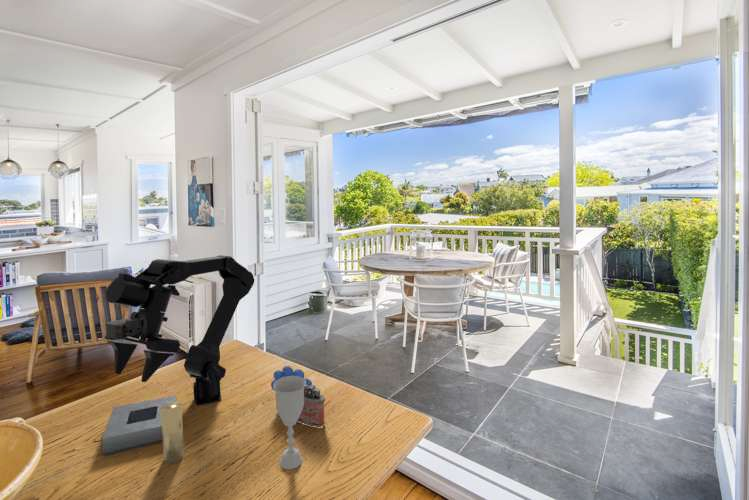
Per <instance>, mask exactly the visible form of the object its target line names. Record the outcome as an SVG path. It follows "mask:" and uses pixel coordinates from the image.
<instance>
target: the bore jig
mask: <svg viewBox="0 0 749 500" xmlns="http://www.w3.org/2000/svg"><path fill="white" fill-rule="evenodd" d="M175 401H176V402H177V395H171V396H170V395H169V396H166V397H165V396H164V397H159V398H154V399H150V400H144V401H139V402H133V403H127V404H122V405H118V406H113V407H112V410H111V413H110V415H109V419H108V421H107V424H106V427H105V430H104V432H103V436H102V438H101V443H102V454H103V456H107V455H113V454H116V453H117V454H118V453H121V452H125V451H129V450H133V449H138V448H141V447H147V446H151V445H155V444H159V443H163V441H162V426H161V410H160V408H161V407H162V406H163V405H164V404H166V403H169V402H175Z"/></svg>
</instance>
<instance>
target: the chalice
mask: <svg viewBox="0 0 749 500" xmlns="http://www.w3.org/2000/svg"><path fill="white" fill-rule="evenodd" d="M304 378H305V377H304ZM304 378H302V377H299V376H286V377H282V378H280V379H278V380H277V381H275V383H274V385H273V387H274V389H275V390H276V391H275V406H276V407H275V408H276V412H277V413H278V415H279V417H280V419H281V422H282V423H283V425H284V426H286V427H287V431H286V435H287V436H288V438H287V439H286V443H287V444H288V447H287V448H285V449H284V451H283V452H282V454H281V457H280V458H279V459H280V460H279V461H278V465H279V467H280V468H282V469H284V470H293V469H296V468H298V467H299V465H301V464H302V463H303V461H302V459H303V457H302V454H301V452H300V450H299V449H298V448H296V447H294V446H293V445H294V442H295V441H296V440H295V438H294V434H295V431H294V425H297V423H298V422H297V421H298V418H299V416H300V414H301V412H302V409H303V406H304V386H305V384H306V380H305V379H304ZM301 462H302V463H301Z"/></svg>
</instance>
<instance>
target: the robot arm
mask: <svg viewBox="0 0 749 500" xmlns="http://www.w3.org/2000/svg"><path fill="white" fill-rule="evenodd" d="M213 272H218V274H219V276H220V278H222V279H223V281H222V293H223V294H222V297H221V299H220V301H219V304H218V306H217V308H216V310H215V312H214V314H213V317H212V319H211V321H210V323H209V325H208V327H207V329H206V332H205V333H204V336H203V338H202V340H201V341H200V342H199V343H198V344H197V345H193V344H192V345H191V346H190V347H189V350H188V352H187V355H186V356H185V357H184V363H183V368H184V371H185V372H186V373H187V374H188V375H189V377H190V378H194V379H195V381H194V382H193V399H194V401H195V404H196V405H197V406H198V405H202V404H203V405H204V404H208V403H213V402H217V401H222V393H221V381H222V379H223V378H225V376H226V372H227V369H226V368H225V367H223V366H221V365H220V364H219V363H220V360H221V351H220V347H221V344H222V341H223V339H224V337H225V335H226V332H227V330H228V327H229V326H230V323H231V321H232V319H233V317H234V314H235V312H236V310H237V308H238V306H239V302H240V301H241V300H242V299H243V298H244V297H246V296H247V295H248V294H249V293H250V291H251V290H252V288H253V286H254V284H255V278H254V275H253V273H252V272H251V271H249V269H247V268H246V267H245V266H243V265H242V264H240V263H239V262H237V260H235V259H234V257H232V256H229V255H220V254H219V255H217V256H211V257H203V258H202V257H201V258H196V259H189V260H174V259H164V258H163V259H160V258H159V259H158V258H156V259H154V260H152V261H150V264H149V265H148V267H147V268H145V269H144V270H143V271H141V272H140V273H139V274H137V275H136V276H133V275H132V274H129V273H123V272H120V273H118V276H117V277H116V278H114V279H113V280H112V281H111V283H110V284H109V285H108V286H107V288H106V292H105V299H106V301H107V302H108V303H110V304H115V305H120V306H127V307H130V308H138V307H139V308H138V309H137V310H138V311H133V312H131V313H130V317H128V318H122V319H117V320H116V319H115V320H112V321H107V322H106V324H105V329H106V330H105V331H106V332H105V337H104V340H105V339H106V340H107V343H108V344H109V345H111V347H112V348H113V350H114V351H113V352H114V374H116V375H120V374H122V372H123V371H124V369H125V367H126V365H128V363H129V360H130V358H131V357H132V355H133V354H134V352H135V350H136V349H137V346H138V344H142V345H145V346H146V349H143V352H144V355H145V362H144V366H143V370H142V376H141V379H140V380H141V382H142V383H147V382H148V381H149V380H150V379H151V377H152V376H153V375H155V373H156V372H157V370H158V369H159V368H160V367H161V366H162V365H163V364H164V363H165V361H167V360H168V359H169V358H170V357H173V356H174V353H175V354H177V353H179V350H180V349H181V348H180V347H181V342H180V341H179V340H178V339H174V338H169V337H163V334H161V333H160V331H161V328H162V324H163V322H165V323H166V322H168V319H169V318H168V317H167V316H165V315H166V311H167V309H168V305H169V302H170V300H171V297H172V296H174V297H175V296H176V297H178V296H180V292H179V291H178V289H177V288H176V284H178V283H181V282H184V281H186V280H187V279H188V278H190V277H193V276H197V275H202V274H208V273H213ZM152 285H153V286H152ZM165 285H167V286H165Z"/></svg>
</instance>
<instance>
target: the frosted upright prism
mask: <svg viewBox="0 0 749 500" xmlns="http://www.w3.org/2000/svg"><path fill="white" fill-rule="evenodd" d="M182 407H183V406H182V403H181V401H177V400H176V401H175V402H169V403H166V404H164V405H163V406H162V407H161V408H160V410H161V426H162V441H163V442H162V455H163V461H164V463H165V464H175V463H177V462H179V461H181V460H182V459H183V458H184V457H185V445H184V443H185V442H184V428H183V427H184V426H183V412H182V411H183V409H182Z"/></svg>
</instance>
